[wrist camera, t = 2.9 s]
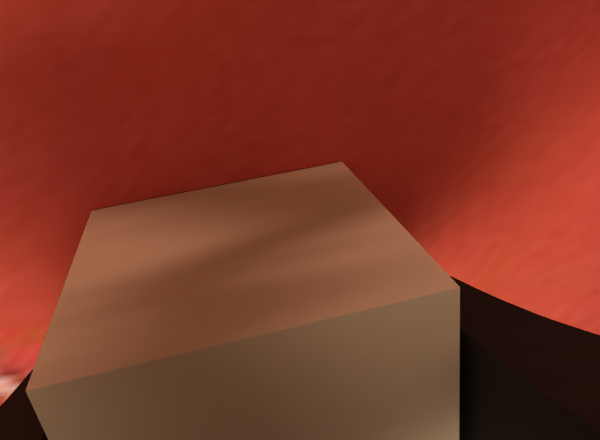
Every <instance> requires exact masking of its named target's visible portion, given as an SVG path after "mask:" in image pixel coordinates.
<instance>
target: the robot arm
mask: <svg viewBox="0 0 600 440" xmlns="http://www.w3.org/2000/svg"><path fill="white" fill-rule="evenodd" d="M450 277H451V276H450ZM451 278H452V279H453V280H454V281H455V282H456V283H457V285H458V286H459V287H460V387H459V440H600V335H597V334H593V333H590V332H587V331H584V330H581V329H578V328H575V327H572V326H569V325H566V324H563V323H560V322H557V321H554V320H551V319H548V318H546V317H543V316H540V315H538V314H535V313H532V312H530V311H528V310H525V309H523V308H520V307H518V306H515V305H513V304H510V303H508V302H505V301H503V300H501V299H498V298H496V297H494V296H492V295H489V294H487V293H485V292H483V291H481V290H478V289H476V288H474V287H472V286H470V285H468V284H466V283H464V282H462V281H459V280H457V279H455V278H453V277H451ZM32 372H33V370H32V371H31V372H30V373H29V374H28V376H27V377H26V378H25V379H24V380H23V381H22V383H21V384H20V385H19V386H18V387H17V388H16V389H15V391H14V392H13V393H12V394H11V395H10V396H9V397H8V399H7V400H6V401H5V402H4V403H3V404H2V405H1V406H0V440H48V438H47V436H46V434H45V432H44V430H43V428H42V425H41V423H40V421H39V419H38V417H37V415H36V412H35V410H34V408H33V406H32V404H31V402H30V400H29V397H28V395H27V393H26V388H27V385H28V383H29V380H30V377H31V374H32Z"/></svg>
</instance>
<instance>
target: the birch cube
mask: <svg viewBox="0 0 600 440" xmlns="http://www.w3.org/2000/svg"><path fill="white" fill-rule="evenodd" d="M459 387H460V287H459V286H458V285H457V283H456V282H455V281H454V280H453V279H452V278H451V277H450V276H449V275H448V274H447V273H446V272H445V271H444V270H443V269H442V267H441V266H440V265H439V264H438V263H437V262H436V261H435V260H434V259H433V258H432V257H431V256H430V255H429V254H428V253H427V251H426V250H425V249H424V248H423V247H422V246H421V245H420V244H419V243H418V242H417V241H416V240H415V239H414V238H413V237H412V235H411V234H410V233H409V232H408V231H407V230H406V229H405V228H404V227H403V226H402V225H401V224H400V223H399V222H398V221H397V219H396V218H395V217H394V216H393V215H392V214H391V213H390V212H389V211H388V210H387V209H386V208H385V207H384V206H383V205H382V203H381V202H380V201H379V200H378V199H377V198H376V197H375V196H374V195H373V194H372V193H371V192H370V191H369V190H368V189H367V188H366V186H365V185H364V184H363V183H362V182H361V181H360V180H359V179H358V178H357V177H356V176H355V175H354V174H353V173H352V172H351V170H350V169H349V168H348V167H347V166H346V165H345V164H344V163H343V162H337V163H332V164H327V165H322V166H317V167H311V168H306V169H301V170H296V171H291V172H286V173H281V174H276V175H271V176H266V177H260V178H255V179H250V180H245V181H240V182H235V183H230V184H225V185H220V186H215V187H210V188H204V189H199V190H194V191H189V192H184V193H179V194H174V195H169V196H164V197H159V198H154V199H148V200H143V201H138V202H133V203H128V204H123V205H118V206H113V207H108V208H103V209H97V210H92V211H91V213H90V216H89V218H88V221H87V224H86V227H85V229H84V232H83V235H82V238H81V240H80V243H79V246H78V249H77V251H76V254H75V257H74V259H73V262H72V265H71V268H70V270H69V273H68V276H67V279H66V281H65V284H64V287H63V290H62V292H61V295H60V298H59V300H58V303H57V306H56V309H55V311H54V314H53V317H52V320H51V322H50V325H49V328H48V331H47V333H46V336H45V339H44V342H43V344H42V347H41V350H40V352H39V355H38V358H37V361H36V363H35V366H34V369H33V372H32V374H31V377H30V380H29V383H28V385H27V388H26V393H27V395H28V397H29V400H30V402H31V404H32V406H33V408H34V410H35V412H36V415H37V417H38V419H39V421H40V423H41V425H42V428H43V430H44V432H45V434H46V436H47V438H48V440H459Z"/></svg>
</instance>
